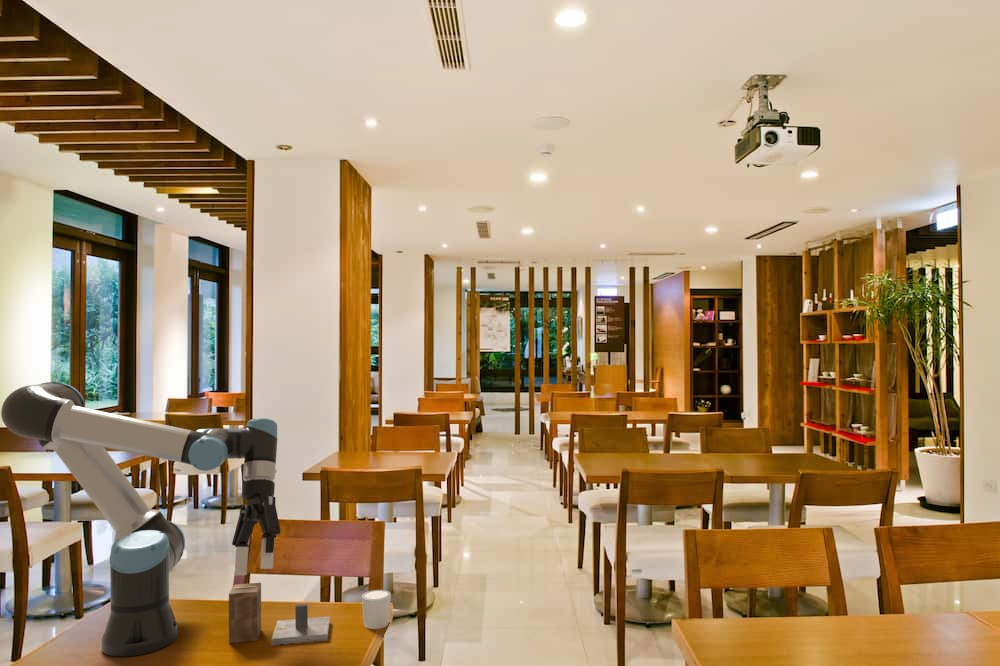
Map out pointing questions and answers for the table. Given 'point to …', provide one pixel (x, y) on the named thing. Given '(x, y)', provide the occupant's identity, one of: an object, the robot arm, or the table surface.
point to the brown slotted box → (244, 612)
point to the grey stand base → (301, 628)
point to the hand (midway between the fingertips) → (253, 572)
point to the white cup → (376, 608)
